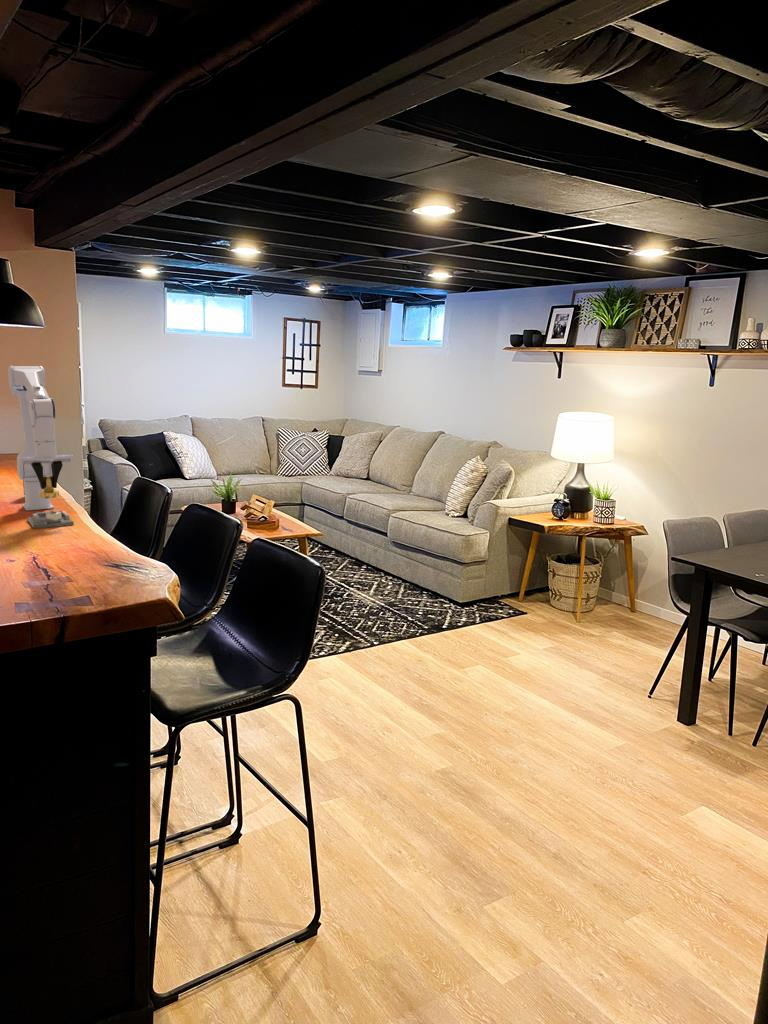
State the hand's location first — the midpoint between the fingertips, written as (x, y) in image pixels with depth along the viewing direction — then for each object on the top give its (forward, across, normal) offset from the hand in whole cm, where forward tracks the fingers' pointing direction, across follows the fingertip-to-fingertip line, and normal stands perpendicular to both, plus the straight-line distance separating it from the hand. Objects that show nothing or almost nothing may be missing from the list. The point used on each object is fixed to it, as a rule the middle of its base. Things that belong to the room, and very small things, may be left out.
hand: (48, 488), depth 221 cm
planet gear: (+3, 0, 0) cm, 3 cm away
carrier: (+10, -1, -3) cm, 10 cm away
